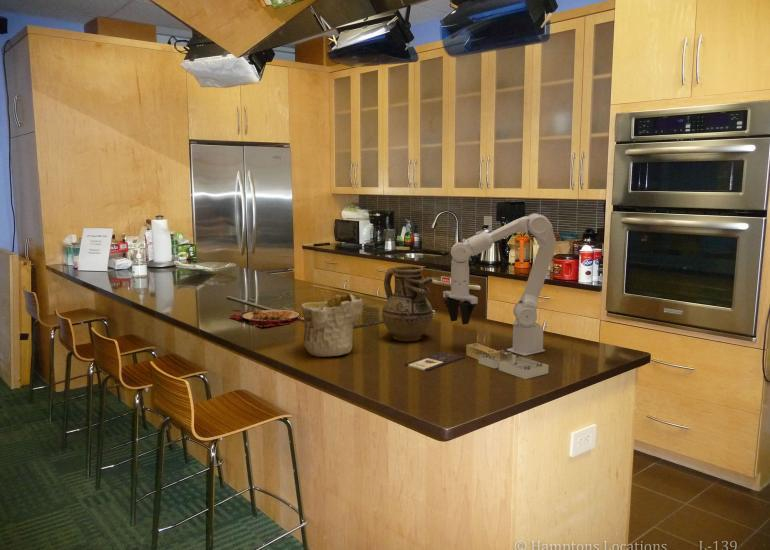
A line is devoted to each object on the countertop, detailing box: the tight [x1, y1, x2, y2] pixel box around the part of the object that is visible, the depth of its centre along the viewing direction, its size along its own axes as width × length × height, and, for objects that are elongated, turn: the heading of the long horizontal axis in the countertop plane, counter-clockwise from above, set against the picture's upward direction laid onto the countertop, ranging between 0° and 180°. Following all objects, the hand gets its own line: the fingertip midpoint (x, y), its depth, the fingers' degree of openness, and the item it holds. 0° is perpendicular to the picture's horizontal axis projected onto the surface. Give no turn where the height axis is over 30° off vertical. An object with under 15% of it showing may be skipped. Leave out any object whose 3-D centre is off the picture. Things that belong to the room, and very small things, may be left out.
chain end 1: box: [478, 349, 517, 369], centre depth 188 cm, size 9×6×3 cm
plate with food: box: [229, 309, 304, 328], centre depth 252 cm, size 25×26×4 cm
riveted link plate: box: [465, 342, 500, 364], centre depth 193 cm, size 4×12×4 cm, turn 27°
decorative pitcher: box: [381, 265, 434, 342], centre depth 217 cm, size 22×18×25 cm
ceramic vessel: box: [300, 293, 364, 358], centre depth 201 cm, size 21×22×23 cm
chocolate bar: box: [404, 351, 466, 372], centre depth 190 cm, size 9×1×18 cm
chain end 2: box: [498, 356, 549, 380], centre depth 179 cm, size 9×10×3 cm
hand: (459, 322), depth 201 cm, fingers open, 5 cm apart
